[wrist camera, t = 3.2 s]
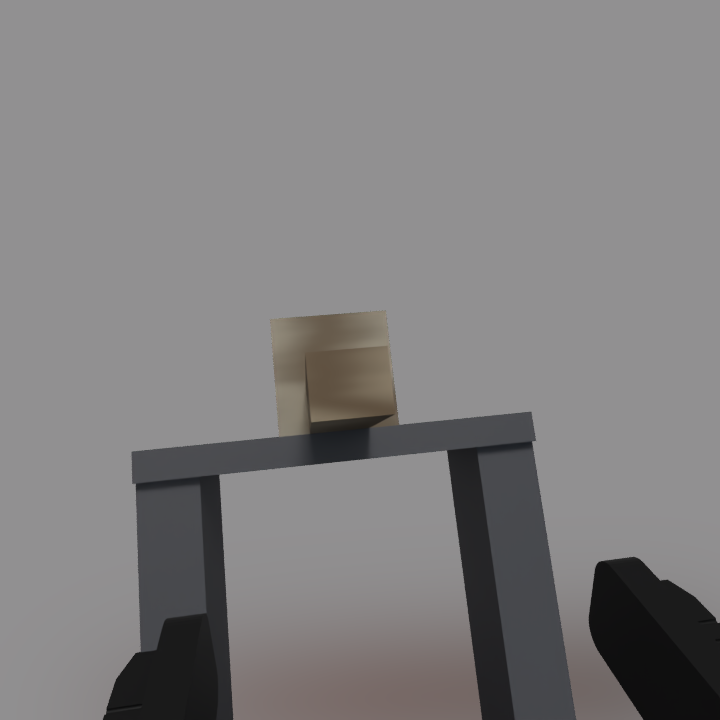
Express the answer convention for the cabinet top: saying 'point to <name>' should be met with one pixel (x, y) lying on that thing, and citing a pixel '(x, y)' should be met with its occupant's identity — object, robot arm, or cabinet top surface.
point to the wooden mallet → (333, 373)
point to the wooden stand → (475, 531)
